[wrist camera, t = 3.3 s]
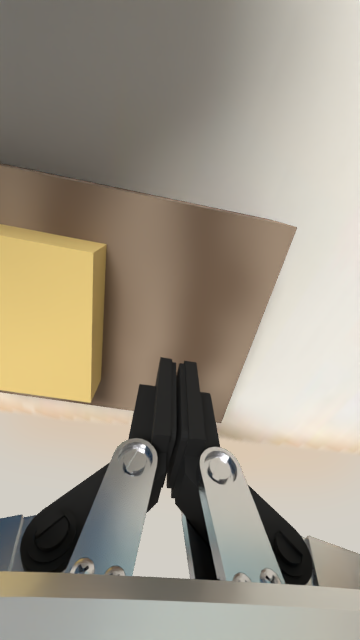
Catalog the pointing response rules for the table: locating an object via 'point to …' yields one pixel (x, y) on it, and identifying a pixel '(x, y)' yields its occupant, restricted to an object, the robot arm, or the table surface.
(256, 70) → the table surface
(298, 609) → the robot arm
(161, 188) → the table surface
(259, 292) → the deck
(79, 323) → the yellow rectangular block
